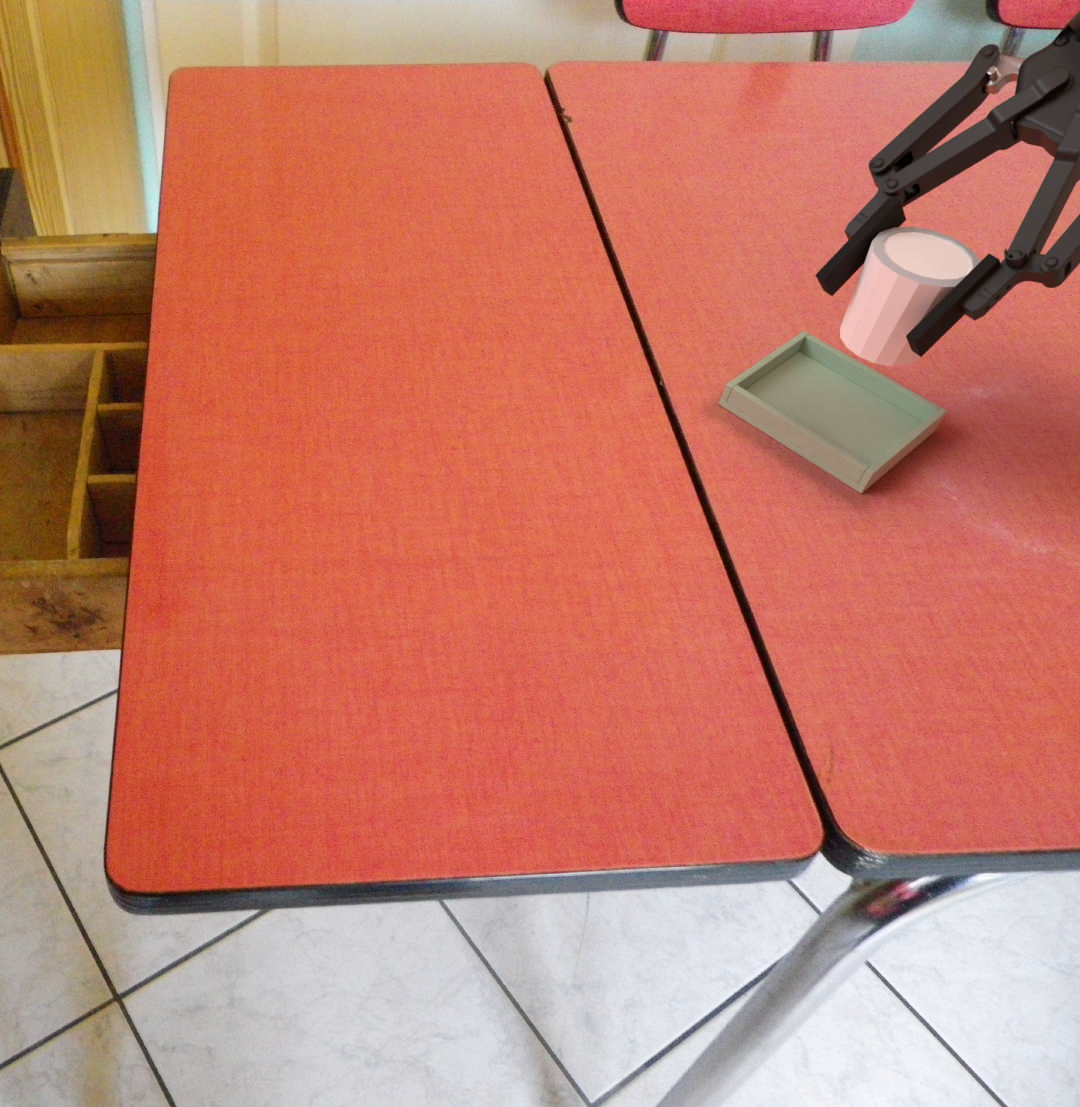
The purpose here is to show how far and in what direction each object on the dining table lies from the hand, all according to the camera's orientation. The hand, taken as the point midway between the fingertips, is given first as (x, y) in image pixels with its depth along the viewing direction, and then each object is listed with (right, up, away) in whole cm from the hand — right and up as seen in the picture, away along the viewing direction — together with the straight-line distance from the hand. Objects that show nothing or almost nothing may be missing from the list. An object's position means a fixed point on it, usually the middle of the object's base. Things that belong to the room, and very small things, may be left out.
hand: (867, 315), depth 67 cm
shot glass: (+3, -1, +4) cm, 5 cm away
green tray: (+5, -5, +16) cm, 17 cm away
